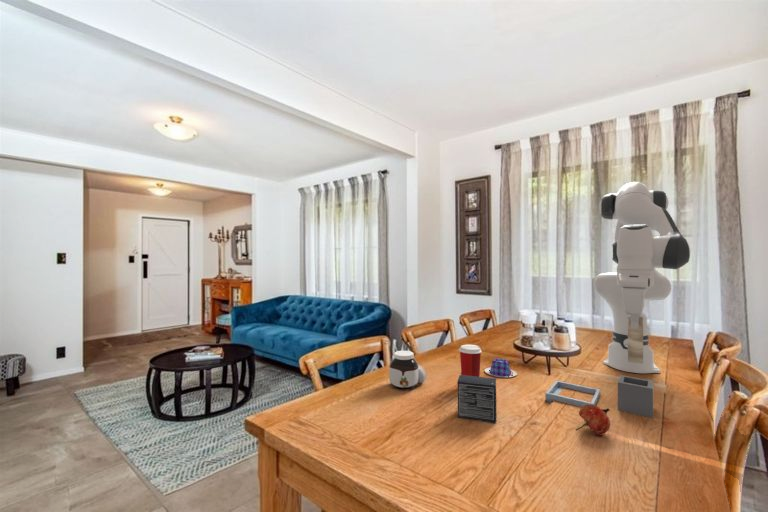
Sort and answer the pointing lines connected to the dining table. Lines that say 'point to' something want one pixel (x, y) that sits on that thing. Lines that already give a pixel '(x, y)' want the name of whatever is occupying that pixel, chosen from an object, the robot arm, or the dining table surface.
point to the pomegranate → (595, 418)
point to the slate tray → (556, 389)
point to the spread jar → (405, 371)
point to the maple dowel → (635, 342)
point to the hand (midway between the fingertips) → (635, 326)
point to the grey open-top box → (635, 396)
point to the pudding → (500, 368)
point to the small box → (477, 398)
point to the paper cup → (470, 360)
